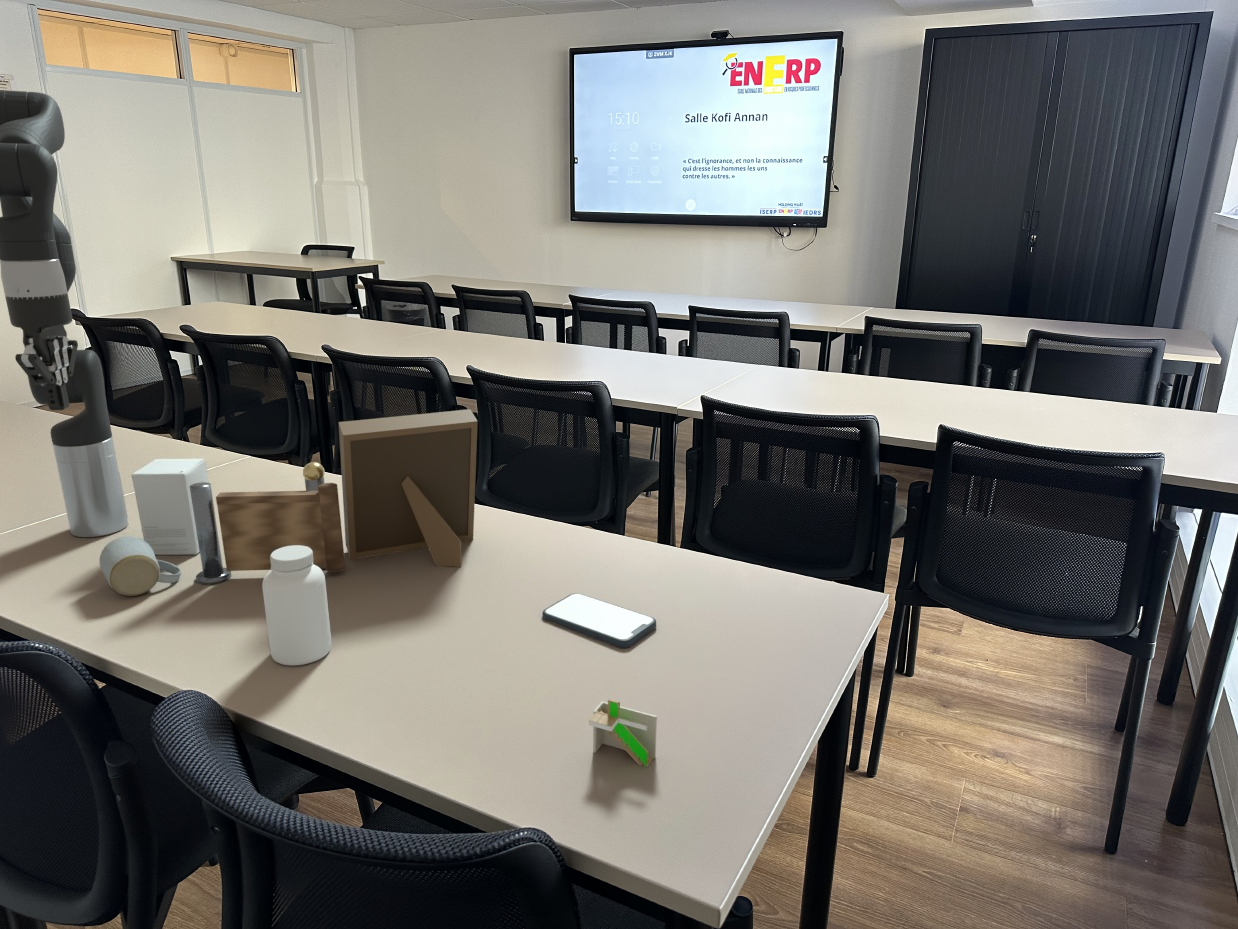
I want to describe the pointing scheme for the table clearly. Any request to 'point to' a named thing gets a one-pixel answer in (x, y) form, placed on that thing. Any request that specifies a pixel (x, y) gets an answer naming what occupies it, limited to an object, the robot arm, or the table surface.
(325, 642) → the pill bottle
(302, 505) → the gate
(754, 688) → the table surface
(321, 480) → the post
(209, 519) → the hinge post
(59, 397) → the robot arm
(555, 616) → the smartphone
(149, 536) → the supplement box
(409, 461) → the photo frame
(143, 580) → the ceramic mug
